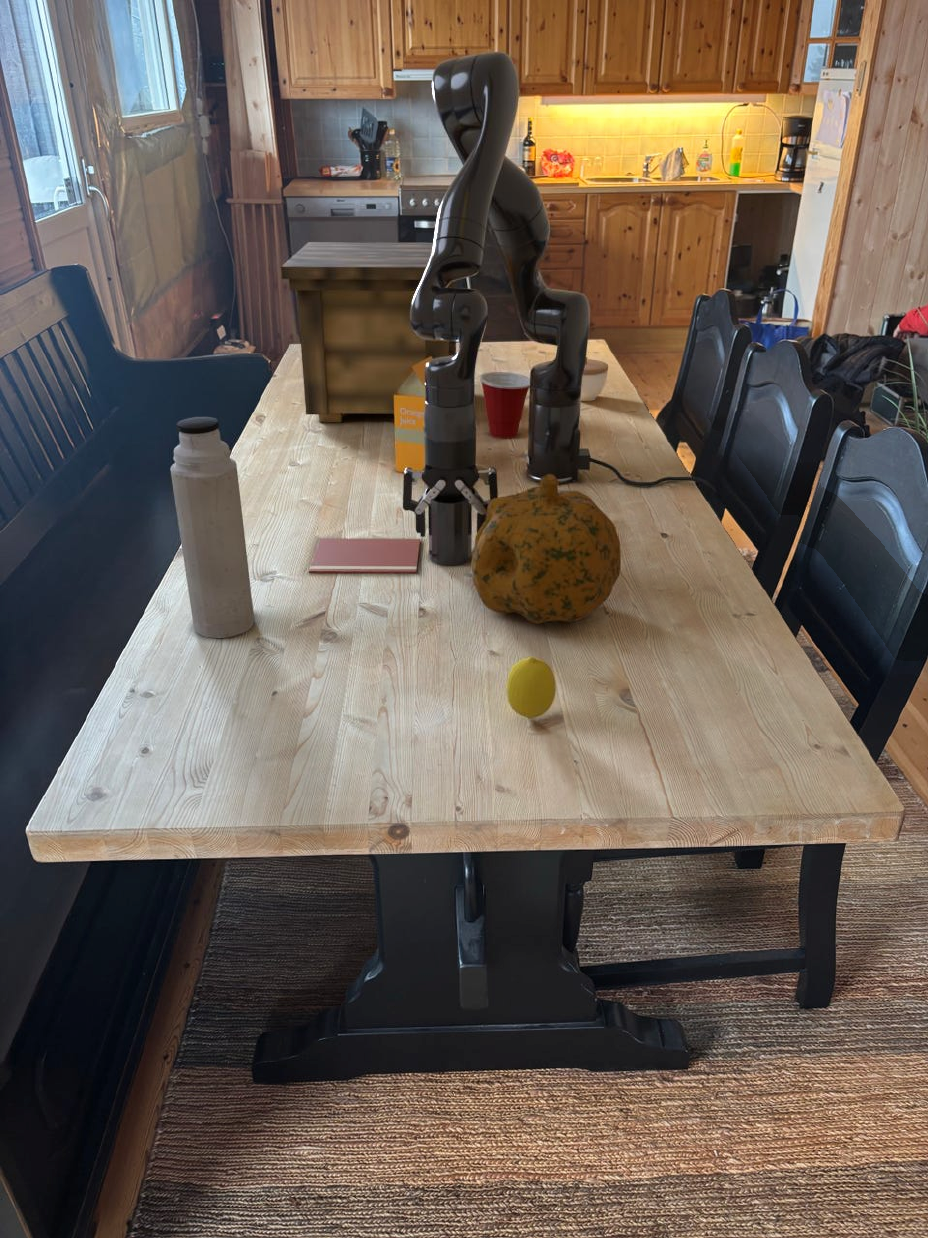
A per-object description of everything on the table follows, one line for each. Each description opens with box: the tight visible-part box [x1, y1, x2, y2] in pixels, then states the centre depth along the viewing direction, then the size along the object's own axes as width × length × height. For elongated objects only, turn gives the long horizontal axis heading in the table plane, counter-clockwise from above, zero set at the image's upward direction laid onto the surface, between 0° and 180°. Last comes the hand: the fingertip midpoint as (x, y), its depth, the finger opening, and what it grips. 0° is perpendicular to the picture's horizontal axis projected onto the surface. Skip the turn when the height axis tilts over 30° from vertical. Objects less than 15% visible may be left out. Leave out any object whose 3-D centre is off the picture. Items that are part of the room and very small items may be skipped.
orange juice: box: [393, 356, 433, 473], centre depth 183 cm, size 8×9×20 cm
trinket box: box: [581, 356, 609, 402], centre depth 227 cm, size 11×11×9 cm
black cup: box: [427, 496, 473, 567], centre depth 149 cm, size 6×6×10 cm
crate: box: [280, 241, 460, 423], centre depth 216 cm, size 35×35×33 cm
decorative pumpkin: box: [470, 474, 622, 625], centre depth 132 cm, size 20×21×20 cm
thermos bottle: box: [170, 416, 255, 639], centre depth 125 cm, size 8×8×28 cm
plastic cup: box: [479, 371, 530, 439], centre depth 202 cm, size 11×11×12 cm
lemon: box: [505, 656, 557, 720], centre depth 110 cm, size 6×6×8 cm
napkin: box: [308, 538, 421, 574], centre depth 151 cm, size 16×12×1 cm
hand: (450, 534), depth 149 cm, fingers open, 8 cm apart
